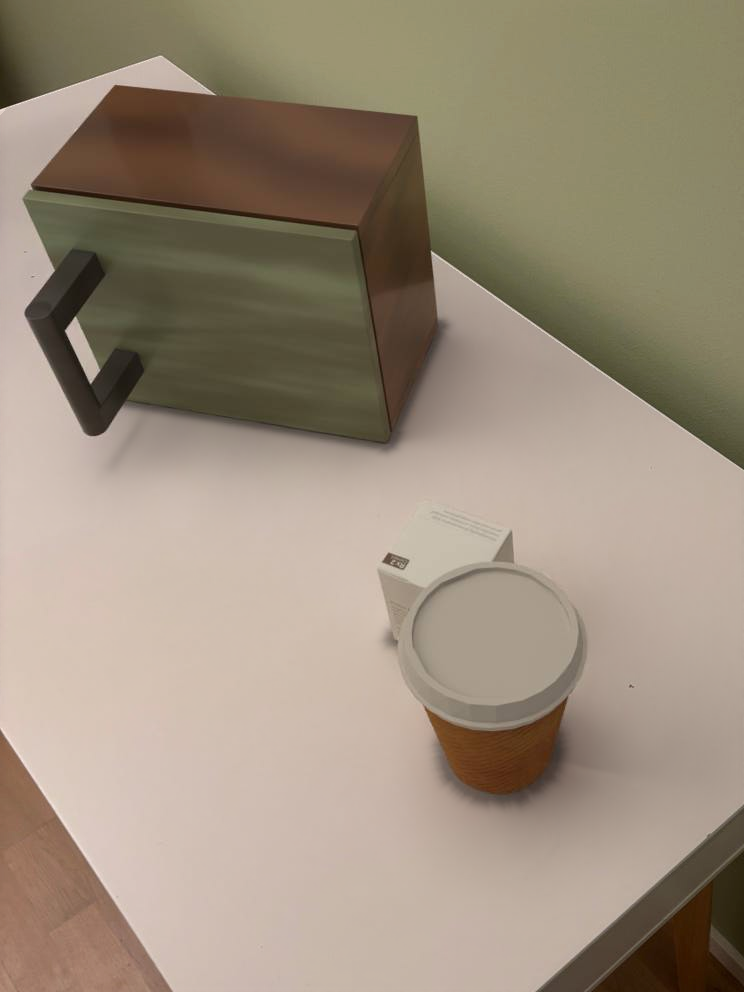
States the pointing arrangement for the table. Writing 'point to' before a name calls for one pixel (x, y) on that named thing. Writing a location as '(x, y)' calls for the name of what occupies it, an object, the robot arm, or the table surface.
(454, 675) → the disposable coffee cup
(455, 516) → the white cardboard box
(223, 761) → the table surface
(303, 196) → the cupboard
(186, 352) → the cupboard door
